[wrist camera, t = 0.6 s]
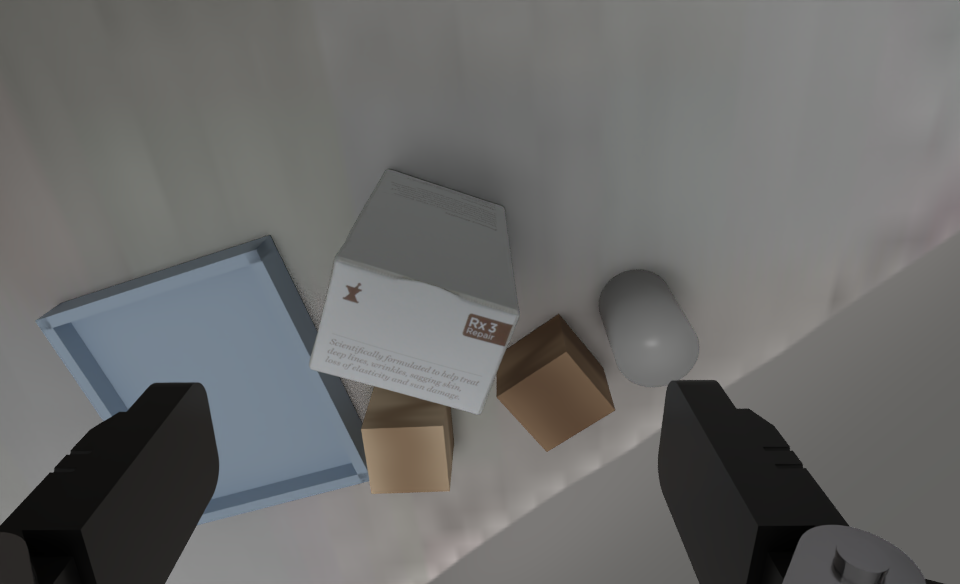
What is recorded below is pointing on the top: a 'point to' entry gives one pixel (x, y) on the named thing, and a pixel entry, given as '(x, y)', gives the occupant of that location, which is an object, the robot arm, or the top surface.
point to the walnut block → (553, 384)
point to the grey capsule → (647, 329)
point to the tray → (222, 370)
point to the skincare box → (421, 295)
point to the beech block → (407, 443)
